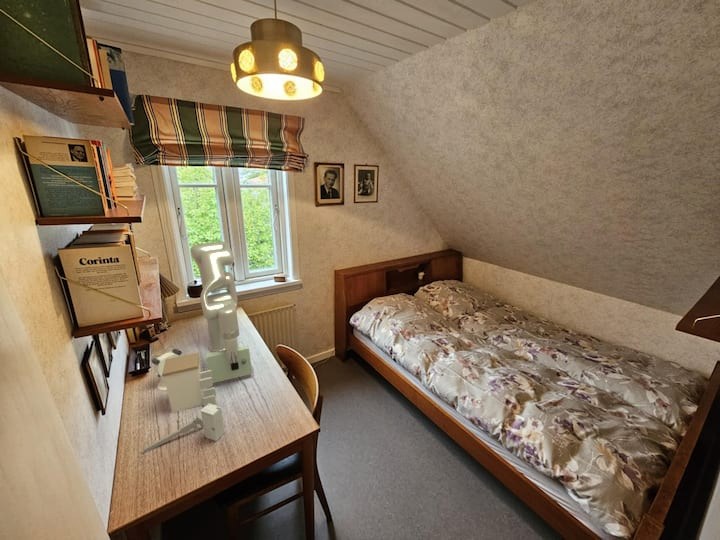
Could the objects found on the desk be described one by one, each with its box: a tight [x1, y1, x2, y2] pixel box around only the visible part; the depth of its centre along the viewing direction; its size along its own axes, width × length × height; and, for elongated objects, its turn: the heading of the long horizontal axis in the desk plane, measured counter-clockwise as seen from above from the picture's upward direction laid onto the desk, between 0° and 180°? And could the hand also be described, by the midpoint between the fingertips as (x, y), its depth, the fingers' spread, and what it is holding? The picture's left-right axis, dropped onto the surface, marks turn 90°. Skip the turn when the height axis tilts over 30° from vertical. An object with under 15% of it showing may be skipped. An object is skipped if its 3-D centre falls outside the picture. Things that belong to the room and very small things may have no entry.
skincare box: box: [200, 403, 225, 442], centre depth 116 cm, size 6×4×12 cm
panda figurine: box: [151, 348, 182, 392], centre depth 145 cm, size 12×11×15 cm
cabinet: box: [162, 352, 217, 414], centre depth 133 cm, size 12×17×19 cm
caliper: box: [140, 416, 204, 455], centre depth 115 cm, size 20×1×6 cm, turn 124°
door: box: [205, 344, 253, 384], centre depth 144 cm, size 4×18×14 cm, turn 115°
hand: (234, 366), depth 146 cm, fingers closed on door, 3 cm apart
